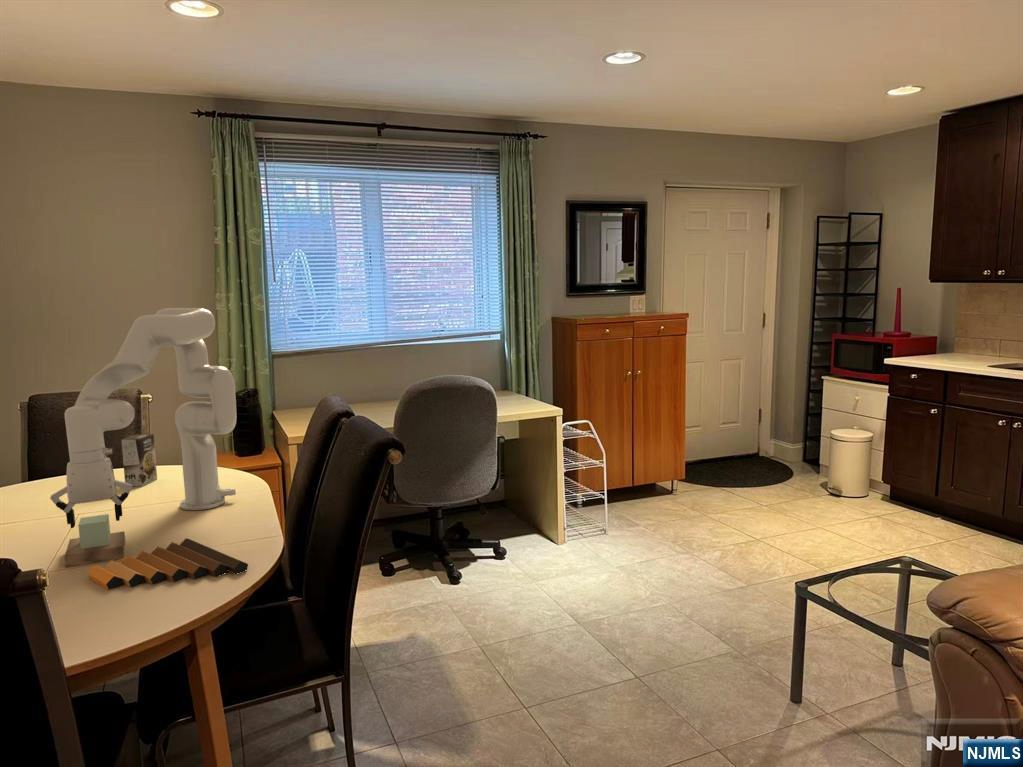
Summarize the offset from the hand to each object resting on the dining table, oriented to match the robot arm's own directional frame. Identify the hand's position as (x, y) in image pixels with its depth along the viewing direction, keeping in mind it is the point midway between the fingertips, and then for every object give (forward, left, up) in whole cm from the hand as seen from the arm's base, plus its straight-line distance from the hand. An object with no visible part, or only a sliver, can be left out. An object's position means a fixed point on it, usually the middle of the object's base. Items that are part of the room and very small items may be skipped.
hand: (95, 522), depth 173 cm
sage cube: (0, 0, -5) cm, 5 cm away
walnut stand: (0, 0, -8) cm, 8 cm away
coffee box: (-9, -67, -8) cm, 68 cm away
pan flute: (-15, +23, -9) cm, 29 cm away
